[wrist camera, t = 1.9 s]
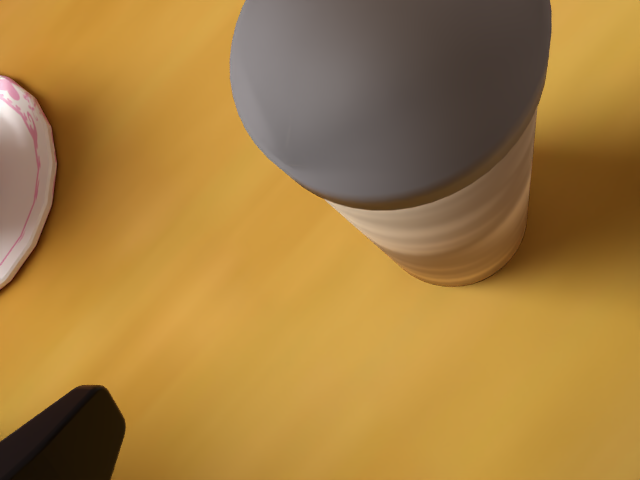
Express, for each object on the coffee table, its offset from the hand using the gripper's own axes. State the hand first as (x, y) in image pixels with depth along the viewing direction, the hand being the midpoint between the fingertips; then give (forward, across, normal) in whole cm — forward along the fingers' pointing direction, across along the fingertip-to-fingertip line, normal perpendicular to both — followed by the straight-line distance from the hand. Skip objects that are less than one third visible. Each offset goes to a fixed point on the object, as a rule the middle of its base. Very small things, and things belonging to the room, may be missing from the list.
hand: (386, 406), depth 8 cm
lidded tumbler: (+12, 0, +5) cm, 13 cm away
